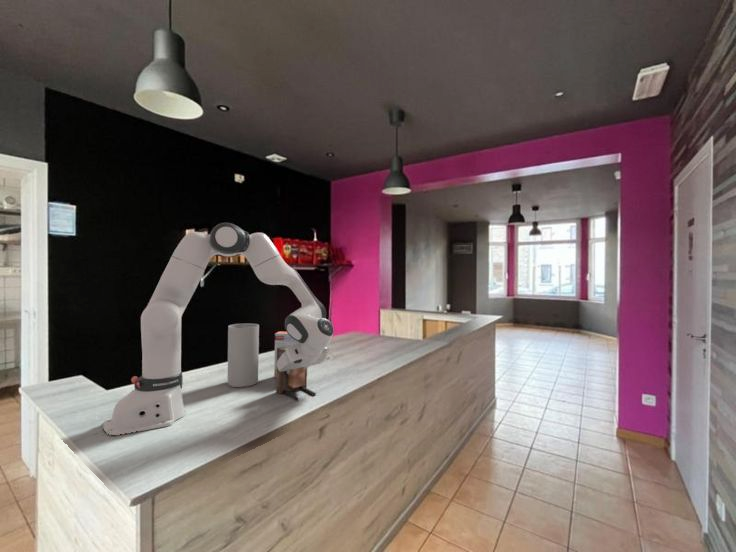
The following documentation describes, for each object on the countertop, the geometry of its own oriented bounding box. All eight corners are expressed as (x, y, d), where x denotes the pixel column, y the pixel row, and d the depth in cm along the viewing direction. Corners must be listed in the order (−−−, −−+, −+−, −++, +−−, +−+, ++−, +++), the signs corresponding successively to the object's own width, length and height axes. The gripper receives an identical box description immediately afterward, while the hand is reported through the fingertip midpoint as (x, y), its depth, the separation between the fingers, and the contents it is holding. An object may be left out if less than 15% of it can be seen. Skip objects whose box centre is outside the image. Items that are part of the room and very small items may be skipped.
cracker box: (307, 376, 160) (308, 331, 160) (304, 380, 154) (304, 334, 154) (278, 374, 162) (279, 330, 161) (273, 378, 156) (274, 332, 155)
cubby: (292, 401, 129) (293, 354, 129) (276, 392, 139) (277, 347, 138) (319, 394, 137) (320, 349, 137) (302, 385, 147) (302, 344, 147)
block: (293, 388, 136) (294, 363, 135) (287, 384, 139) (287, 360, 139) (304, 385, 139) (305, 360, 139) (298, 382, 143) (298, 358, 142)
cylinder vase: (262, 378, 155) (262, 323, 155) (252, 388, 143) (253, 328, 142) (234, 378, 155) (235, 323, 155) (222, 387, 143) (223, 327, 142)
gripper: (327, 340, 141) (314, 359, 148) (282, 347, 127) (269, 368, 134) (334, 353, 137) (319, 372, 145) (288, 362, 124) (275, 382, 131)
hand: (295, 370), depth 139 cm, fingers closed on block, 5 cm apart
